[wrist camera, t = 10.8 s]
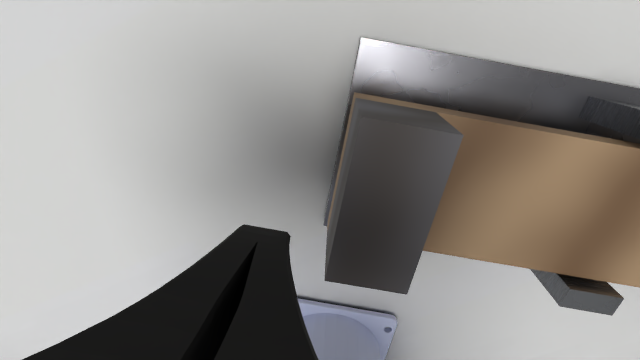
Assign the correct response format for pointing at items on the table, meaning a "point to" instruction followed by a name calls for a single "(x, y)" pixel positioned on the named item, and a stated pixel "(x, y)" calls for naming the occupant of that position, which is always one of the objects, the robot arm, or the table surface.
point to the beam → (478, 196)
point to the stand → (502, 117)
